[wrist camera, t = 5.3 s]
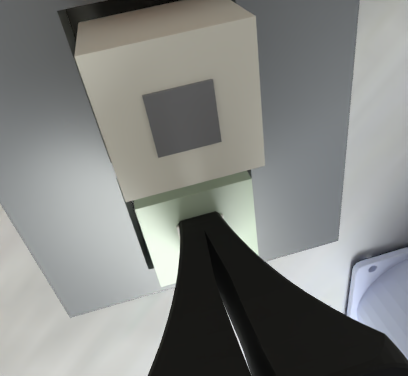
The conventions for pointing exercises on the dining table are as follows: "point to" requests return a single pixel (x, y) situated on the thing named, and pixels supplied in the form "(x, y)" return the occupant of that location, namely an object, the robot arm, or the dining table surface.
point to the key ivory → (174, 93)
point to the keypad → (103, 169)
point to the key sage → (191, 207)
